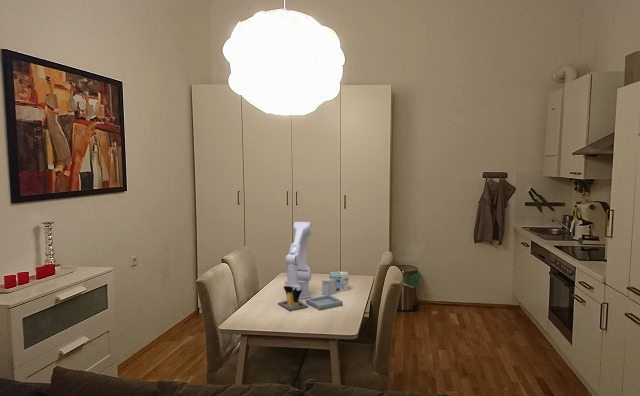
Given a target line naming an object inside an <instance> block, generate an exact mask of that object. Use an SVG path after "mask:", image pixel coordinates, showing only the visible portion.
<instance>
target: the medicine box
mask: <svg viewBox="0 0 640 396" xmlns="http://www.w3.org/2000/svg"><path fill="white" fill-rule="evenodd" d="M321 285H322V286H321V294H322V295H321V296H326V295H330V296H332V295H334V294H336V293H337V291H336V279H332V278H330V277H329V278H326V279H323V280H322V281H321Z"/></svg>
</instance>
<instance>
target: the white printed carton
mask: <svg viewBox="0 0 640 396" xmlns="http://www.w3.org/2000/svg"><path fill="white" fill-rule="evenodd" d="M349 276H350V275H349V272H347V271H345V270H344V271H329V278H332V279H336V292H345V291H346V292H348V291H349V279H350V278H349Z"/></svg>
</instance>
